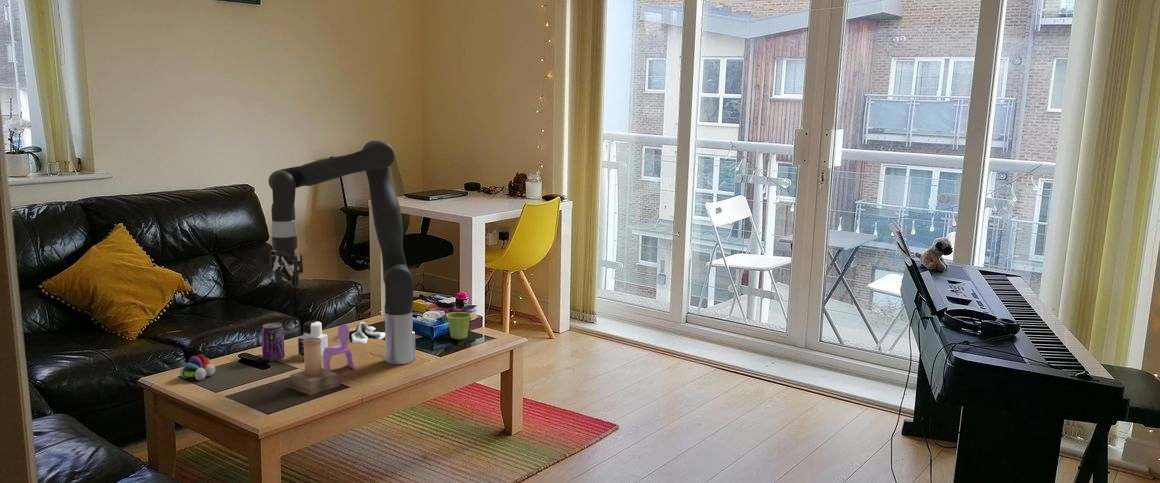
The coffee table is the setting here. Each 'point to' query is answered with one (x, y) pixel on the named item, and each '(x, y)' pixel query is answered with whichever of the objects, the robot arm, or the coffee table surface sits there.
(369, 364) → the coffee table surface
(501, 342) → the coffee table surface
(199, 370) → the colorful domed toy
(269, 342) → the beverage can
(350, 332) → the cloth
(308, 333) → the medicine bottle
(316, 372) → the canister
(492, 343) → the coffee table surface
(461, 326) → the plant pot
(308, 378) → the base slab
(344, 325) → the toy chair
